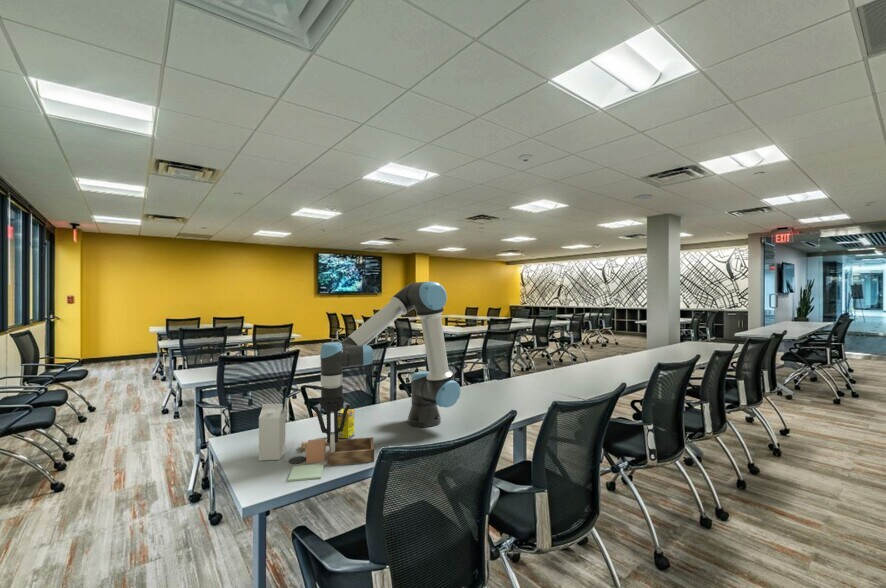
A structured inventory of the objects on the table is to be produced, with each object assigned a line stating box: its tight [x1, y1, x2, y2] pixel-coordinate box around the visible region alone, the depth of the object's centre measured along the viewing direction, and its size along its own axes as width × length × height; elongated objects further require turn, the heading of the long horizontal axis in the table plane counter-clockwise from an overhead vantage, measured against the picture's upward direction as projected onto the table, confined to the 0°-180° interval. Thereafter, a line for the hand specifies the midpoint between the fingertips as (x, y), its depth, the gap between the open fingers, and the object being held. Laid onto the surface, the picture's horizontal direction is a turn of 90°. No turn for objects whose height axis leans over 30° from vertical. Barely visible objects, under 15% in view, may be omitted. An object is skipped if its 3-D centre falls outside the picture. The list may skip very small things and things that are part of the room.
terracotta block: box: [305, 438, 327, 464], centre depth 144 cm, size 6×6×6 cm
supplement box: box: [338, 408, 355, 440], centre depth 166 cm, size 6×6×11 cm
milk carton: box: [258, 403, 286, 461], centre depth 147 cm, size 7×7×19 cm
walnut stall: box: [326, 436, 375, 466], centre depth 147 cm, size 16×13×4 cm
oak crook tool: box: [300, 439, 339, 453], centre depth 155 cm, size 14×6×2 cm, turn 106°
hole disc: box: [288, 455, 306, 465], centre depth 143 cm, size 6×6×1 cm
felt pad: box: [287, 463, 325, 482], centre depth 133 cm, size 10×10×1 cm
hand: (332, 451), depth 146 cm, fingers closed
